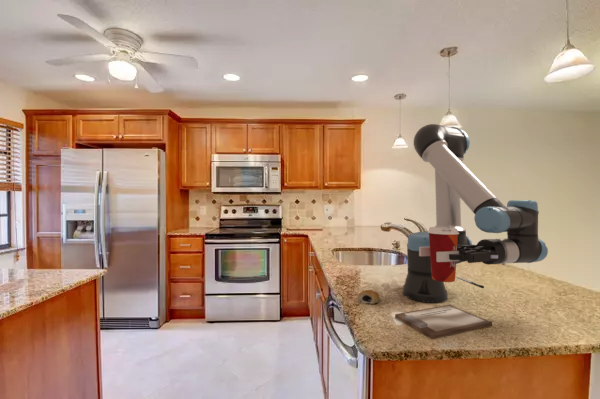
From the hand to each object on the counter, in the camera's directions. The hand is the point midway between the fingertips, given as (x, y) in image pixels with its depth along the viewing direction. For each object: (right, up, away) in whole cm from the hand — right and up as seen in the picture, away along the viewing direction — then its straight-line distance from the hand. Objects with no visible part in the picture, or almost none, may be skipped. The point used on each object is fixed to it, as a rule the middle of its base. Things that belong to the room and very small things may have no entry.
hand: (428, 254), depth 80 cm
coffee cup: (+5, -8, +1) cm, 9 cm away
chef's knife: (+37, -21, +42) cm, 59 cm away
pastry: (-12, -21, +19) cm, 30 cm away
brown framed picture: (+4, -20, +1) cm, 20 cm away
